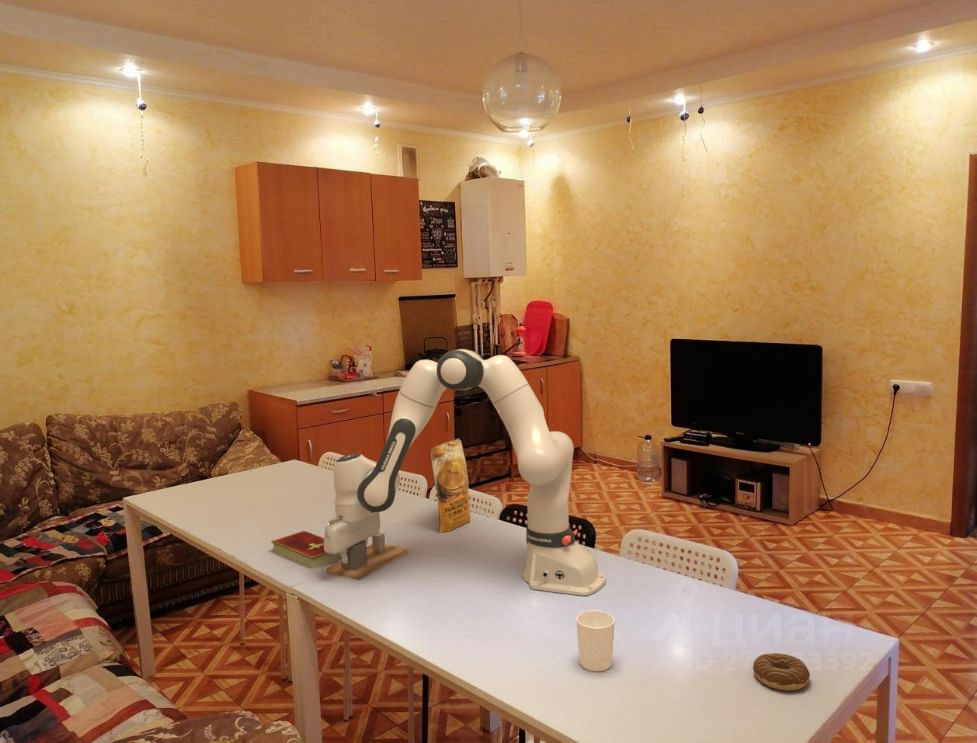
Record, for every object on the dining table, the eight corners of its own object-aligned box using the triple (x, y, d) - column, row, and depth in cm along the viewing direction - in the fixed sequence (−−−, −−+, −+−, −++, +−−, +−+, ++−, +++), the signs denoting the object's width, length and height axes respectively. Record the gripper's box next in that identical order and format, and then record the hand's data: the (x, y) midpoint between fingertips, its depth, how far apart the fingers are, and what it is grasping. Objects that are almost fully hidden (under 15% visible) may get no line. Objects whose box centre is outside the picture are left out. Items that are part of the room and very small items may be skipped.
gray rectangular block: (367, 563, 206) (366, 541, 205) (355, 570, 202) (354, 547, 201) (353, 560, 209) (352, 538, 208) (341, 567, 204) (339, 544, 203)
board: (407, 552, 217) (407, 548, 216) (359, 580, 198) (358, 576, 198) (376, 545, 223) (376, 542, 223) (326, 571, 204) (326, 567, 204)
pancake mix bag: (426, 532, 234) (422, 447, 230) (462, 515, 249) (460, 435, 245) (442, 536, 230) (439, 450, 226) (478, 518, 245) (475, 438, 241)
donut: (789, 701, 138) (790, 682, 138) (741, 677, 147) (742, 659, 146) (820, 682, 144) (820, 663, 144) (772, 660, 153) (772, 642, 152)
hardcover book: (305, 542, 229) (305, 529, 228) (346, 558, 215) (345, 544, 214) (272, 553, 220) (271, 540, 219) (312, 571, 206) (311, 557, 205)
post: (385, 551, 215) (384, 533, 214) (379, 554, 213) (378, 536, 212) (378, 549, 216) (377, 532, 215) (372, 552, 214) (372, 535, 213)
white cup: (610, 652, 157) (610, 609, 156) (618, 672, 149) (617, 627, 148) (574, 654, 157) (573, 610, 156) (580, 674, 149) (579, 628, 148)
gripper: (334, 524, 192) (337, 573, 194) (383, 502, 210) (385, 548, 212) (316, 520, 196) (319, 569, 198) (366, 499, 213) (368, 544, 215)
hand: (354, 558), depth 205 cm, fingers closed on gray rectangular block, 5 cm apart
